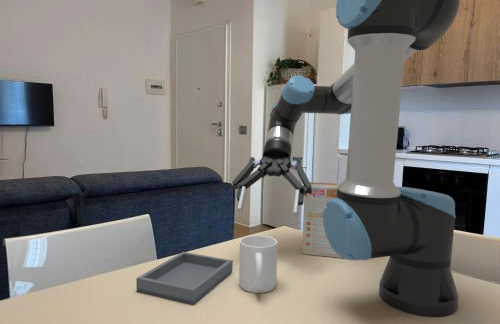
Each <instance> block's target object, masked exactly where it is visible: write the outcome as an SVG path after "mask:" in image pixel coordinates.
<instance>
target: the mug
mask: <svg viewBox="0 0 500 324" xmlns="http://www.w3.org/2000/svg"><path fill="white" fill-rule="evenodd" d="M277 264H278V240H277V239H276V238H274V237H271V236H268V235H248V236H244V237H242V238H240V239H239V265H238V266H239V268H238V269H239V274H238V275H239V278H238V279H239V281H238V282H239V285H240V287H241V288H242V290H243V291H246V292H249V293H253V294H263V293H269V292H271V291H272V290H274V289H275V288H276V286H277V268H278V267H277V266H278V265H277Z"/></svg>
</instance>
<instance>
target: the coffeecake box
mask: <svg viewBox="0 0 500 324" xmlns="http://www.w3.org/2000/svg"><path fill="white" fill-rule="evenodd" d="M309 182H310V181H309ZM310 184H311V185H312V193H311V194H308V193H306V194H305V195H304V202H303V225H302V227H303V228H302V229H303V230H302V255H307V256H309V255H311V256H320V257H329V258H330V257H331V258H339V259H343V258H342V257H341V256H339V255H338V254H337V253H336V252H335V251H334V249H333V248H332V247H331V245H330V243H329V240H328V239H327V236H326V233H325V230H324V225H323V211H324V207H325V206H326V204H327V202H328V201H330V200H332V199H333V198H337V187H338V185H339V184H340V183H330V182H329V183H327V182H326V183H325V182H310Z"/></svg>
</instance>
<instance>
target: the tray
mask: <svg viewBox="0 0 500 324" xmlns="http://www.w3.org/2000/svg"><path fill="white" fill-rule="evenodd" d="M233 264H234V263H233V260H231V259H227V258H221V257H216V256H210V255H203V254H199V253H193V252H187V251H182V252H180V253H178V254H177V255H174V256H173V257H171V258H170V259H167V260H166V261H164V262H163V263H161V264H159V265H157V266H155V267H153V268H151V269H150V270H148V271H146V272H145V273H142V274H141V275H139V276H138V277H136V278H135V279H136V281H135V282H136V283H135V284H136V292H137V293H141V294H146V295H149V296H153V297H157V298H161V299H167V300H170V301H174V302H179V303H183V304H188V305H192V306H195V304H196V303H198V302H199V301H200V300H201V299H202V298H203V297H205V296H206V295H207V294H209V292H211V291H212V290H213V289H214V288H215V287H217V286H218V285H219V284H220V283H222V282H223V281H224V280H225V279H226V278H227V277H229V276H230V275H231V274H232V273H233Z"/></svg>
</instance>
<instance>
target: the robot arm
mask: <svg viewBox="0 0 500 324" xmlns="http://www.w3.org/2000/svg"><path fill="white" fill-rule="evenodd" d="M460 3H461V0H336V4H335V16H336V19H337V22H338V24H339V25H340V26H341V27H343V28H344V29H347V43H348V44H349V45H350V46H351V48H352V49H353V50H354V62H353V64H351V66H349V67H348V69H347V70H346V71H345V72H344V73H343V74H341V76H340V77H338V78H337V79H336V80H335V82H333V83H332V84H331V85H329V86H326V85H315V84H314V82H313V81H312V80H311V79H309V77H304V76H303V75H294V76H292V77H290V78H289V80H288V81H287V82H286V84H285V85H284V87H283V89H282V92H281V95H280V96H279V99H278V102H276V103H274V105H273V106H272V108H271V111H270V114H269V123H268V128H267V133H266V137H265V141H264V147H263V153H262V157H261V158H260V159H255V157H254V156H251V157H250V158H249V161H248V163H247V164H246V165H245V167H243V169H241V171H240V172H239V174H238V175H237V176H236V177H235V178H234V179H233V180H232V182H231V183H232V185H233V186H232V187H233V189H234V190H237V192H236V199H237V201H238V205H237V210H238V211H237V212H238V213H239V215H243V213H244V208H245V203H246V198H247V194H248V192H247V189H249V188H250V187H252V186H253V185H254V184H255V183H257V182H258V181H259V180H260V179H261V178H262V179H263V178H265V177H266V176H268V177H278V178H279V177H281V176H282V177H283V178H284V179H285V180H287V181H288V182H289V183H290V185H291V186H292V187H293V188H294V189H295V196H294V203H293V205H294V206H293V219H298V217H299V214H298V213H299V206H304V195H305V194H306V193H308V194H311V193H312V185H311V184H310V179H309V178H308V176H307V173H306V172H305V170H304V168H303V166H302V160H301V158H297V159H296V160H295V161H293V160H292V161H291V159H292V158H291V157H292V148H293V142H294V136H295V135H294V134H295V129H296V125H297V123H298V122H299V120H300V118H301V117H302V115H303V114H329V115H330V114H331V115H344V114H345V115H346V114H347V115H350V119H349V131H348V133H349V134H348V147H347V160H346V175H345V178H344V179H343V180H342V182H341V183H338V184H339V185H338V187H337V198H333V199H332V200H330V201H328V202H327V204H326V206H325V207H324V211H323V225H324V230H325V233H326V236H327V239H328V240H329V243H330V245H331V247H332V248H333V249H334V251H335V252H336V253H337V254H338V255H339V256H341V257H342V258H341V259H344V260H347V261H348V260H349V261H358V260H361V261H368V260H369V259H371V260H372V259H377V258H385V257H388V260H387V263H386V265H385V268H384V270H383V273H382V275H381V277H380V279H379V283H378V284H379V285H378V294H379V297H381V299H382V300H383V301H384V302H385V303H386V304H388V305H390V306H392V307H393V308H395V309H396V308H397V309H398V310H401V311H403V312H406V313H410V314H413V315H414V314H415V315H419V316H427V317H444V316H449V315H453V314H454V313H455V312H456V311H457V310H458V307H459V305H458V304H459V294H458V290H457V288H456V287H457V286H456V283H455V280H454V277H453V274H452V267H451V266H452V255H453V244H454V233H455V232H454V231H455V222H456V217H457V216H456V209H455V208H456V203H455V200H454V199H453V197H452V196H450V195H448V194H444V193H441V192H436V191H431V190H426V189H421V188H414V187H407V186H396V185H395V183H394V179H395V165H396V156H397V155H396V154H397V146H398V145H397V144H398V134H399V133H398V132H399V123H400V110H401V100H402V88H403V79H404V78H403V77H404V67H405V66H404V65H405V61H407V59H408V58H410V57H412V55H414V54H415V53H416V52H424V51H426V50H428V49H429V48H430V47H431V46H432V45H434V44H436V42H438V41H439V40H440V39H441V38H442V37H443V36H444V35H445V34H446V33H447V32H448V30H449V29H450V27H452V25H453V24H454V22H455V19H456V17H457V15H458V13H459V8H460ZM256 168H257V169H256ZM291 168H293V169H294V170H295V171H296V172H297V175H298V177H299V179H300V181H301V182H300V181H299V180H298V179H297V177H296V176H294V174H293V173H292V172H291V171H290V169H291ZM255 169H256V170H255ZM254 170H255V171H254ZM253 171H254V172H253Z"/></svg>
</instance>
